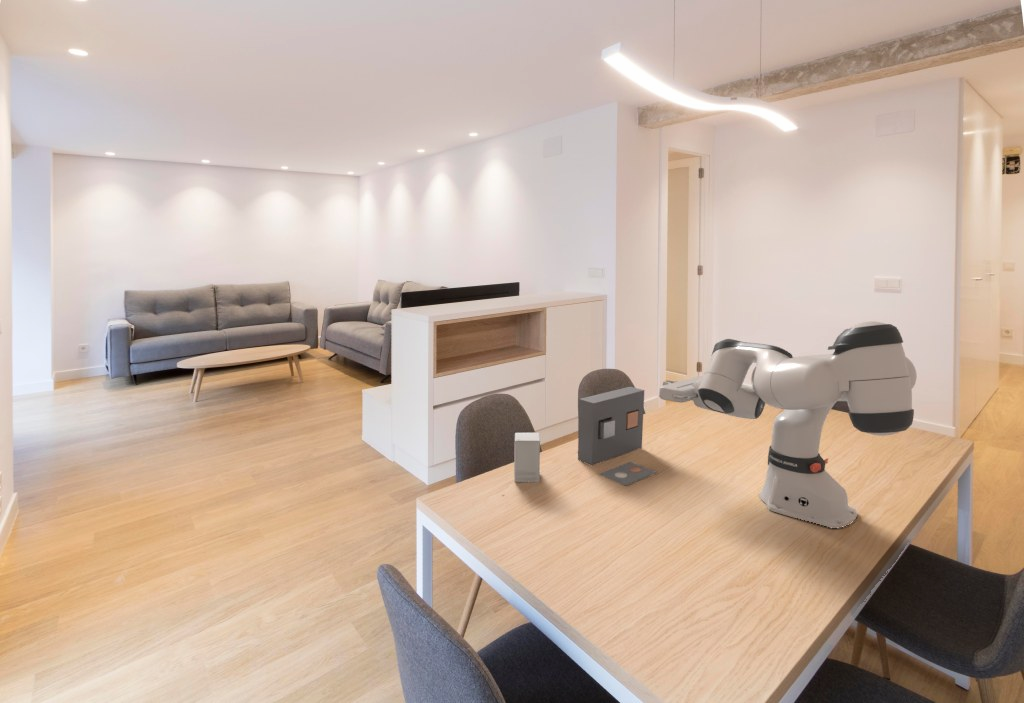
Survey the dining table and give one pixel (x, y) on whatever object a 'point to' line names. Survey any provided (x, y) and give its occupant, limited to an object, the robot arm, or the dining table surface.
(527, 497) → the dining table surface
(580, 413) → the panel
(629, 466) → the pattern card
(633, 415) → the button terracotta
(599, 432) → the grey button
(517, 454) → the supplement box
